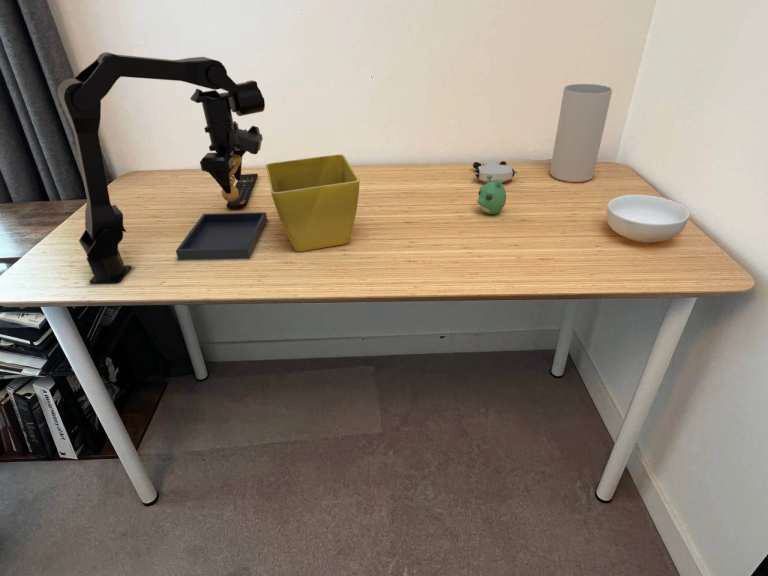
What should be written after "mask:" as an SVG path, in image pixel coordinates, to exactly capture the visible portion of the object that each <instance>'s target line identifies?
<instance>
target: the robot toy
mask: <svg viewBox="0 0 768 576" xmlns="http://www.w3.org/2000/svg"><path fill="white" fill-rule="evenodd" d="M470 166H471V167H472V168H473V169H475V171H474V172H473V175H474V176H475V177H476V178H477V179H479V181H482V182H483V183H485V184H486V183H488V182H489V179H487V178H486V177H487V176H488V175H492V178H491V182H492V181H494V182H497V180H498V179H501V180H502V181H503V183H505V182H508V181H510V180H512V179H513V178H514V177H515V174H519V171H515V170H514V169H513V167H511V166H510V165H508V163H507V161H506V160H505V161H504V160H503V161H502V160H501V161H498V160H497V159H494V158H493V159H492V158H490V159H488V158H487V159H484V160H483V161H482V163H481V162H478V161H475V162H471V163H470Z"/></svg>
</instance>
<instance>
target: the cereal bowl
mask: <svg viewBox="0 0 768 576" xmlns="http://www.w3.org/2000/svg"><path fill="white" fill-rule="evenodd" d="M689 219H690V212H689V210H688V209H687V208H686V207H685V206H683V205H682V204H681V203H679V202H676V201H674V200H670V199H668V198H664V197H661V196H655V195H650V194H649V195H648V194H625V195H624V194H623V195H620V196H617V197H613V198H612V199H611V200H610V201H609V202H608V204H607V208H606V221H607V224H608V226H609V228H611V229H612V230H613V231H614V232H616V234H617V235H620V236H622V237H624V238H626V239H627V240H629V241H632V242H635V243H640V244H652V243H659V242H665V241H668V240H671V239H673V238H675V237H676V236H678V235H680V233H682V232H683V231H684V229H685V227H686V225H687V224H688V223H689V222H688V220H689Z"/></svg>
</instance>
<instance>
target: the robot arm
mask: <svg viewBox="0 0 768 576" xmlns="http://www.w3.org/2000/svg"><path fill="white" fill-rule="evenodd" d="M120 78H134V79H147V80H148V79H149V80H162V81H174V82H176V81H177V82H184V83H188V84H191V85H194V86H198V87H202V88H206V89H210V90H207V91H206V90H205V91H202V89H199V88H196V89H195V91H194V93H193V94H192V95H191V97H190V101H192V102H194V103H197V104H200V103H201V106H202V110H203V113H204V119H205V123H206V126H205V127H204V128H203V129H204V132H205V133H207V134H208V135H209V140H210V144H209V146H208V150H209V152H207V153H206V154H205V155H204V156H203V157H202V159H201V160H200V161H199V165H200V168H201V171H203V172H206V173H208V174H209V175H210V176H211V177H212V178H213V179H214V180H215V181H216V183H217V184H218V185H219V186H220V187H221V190H222V189H223V190H224V191H225V192H226V193H227V194H231V179H232V178H231V177H230V172H231V170H232V169H233V168H234V166H235V165H233V157H232V156H231V154H232V153H233V154H235V155H239V156H241V159H242V160H241V163H240V165H239V167H238V169H237V171H236V173H234V175H233V176H234V177H235V181H238V180H241V175H242V169H243V168H242V166H243V156H244V155H245V154H246V153H247V152H248V153H249V154H252V155H257V154H258V153H259V151H261V147H262V142H263V140H264V138H263V134H261V131H260V128H259V126H256V125H251V126H250V127H249V129H248V130H247V129H246V128H245V129H241V128H239V124H238V123H237V121H234V118H233V115H232V113H235V114H236V115H237V116H238V117H243V116H247V115H253V114H259V113H262V112H264V111H265V108H266V102H265V97H263V94H262V91H261V90H260V88H259V87H258V82H257V81H256V80H253V79H251V80H246V81H245V82H240V83H236V82H235V81H234V80H233V79H232V78H231V77H230V76H229V75H228V71H227V69H226V66H224V64H223V63H222V62H221V61H220V60H216V59H213V58H209V57H206V56H197V57H186V58H180V59H166V58H157V57H146V56H135V55H127V54H115V53H112V52H108V51H105V52H101V53H100V54H99V55H98V57H97V58H96V59H95V60H94V61H93V62H92V63H90V64H89V65H88V66H87V67H85V68H84V69H82V70H81V71H80V72H79V73H78V74H76V76H75V77H73V78H67V79H65V80H62V82H61V83H60V84H59V85H58V87H57V96H58V99H59V102H60V104H61V106H62V110H63V112H64V114H65V116H66V118H67V121H68V123H69V125H70V127H71V129H72V131H73V136H74V141H75V146H76V151H77V156H78V161H79V166H80V171H81V176H82V181H83V182H82V183H83V186H84V192H85V195H86V205H85V211H84V214H85V215H84V227H85V230H84V232H82V235H81V236H80V238H79V239H78V242H79V244H80V246H81V248H82V249H83V251H84V252H85V254H86V261H87V264H88V265H89V267H90V270H91V273H92V274H93V276H92V278H91V279H89V283H90V284H119V283H121V281H122V280H123V279H124V278H125V277H126V275H127V274H128V273H129V272H130V271H131V269H132V265H125V263H124V261H123V258H122V255H121V253H120V250H119V244H120V243H121V241H123V239H124V233H126V232H127V230H126V228H125V227H124V213H123V212H122V211H121V210H120V208H119V207H118V206H117V205H116V204H113V205H112V203H111V199H110V193H109V188H108V181H107V176H106V171H105V170H106V169H105V164H104V159H103V154H102V148H101V147H102V146H101V142H100V137H99V131H100V125H101V118H102V116H101V114H102V113H101V111H102V100H104V98H105V97H106V96H107V95H108V94H109V92H110V91H111V89H112V88H113V87H114V85H115V84H116V82H117V81H118V80H119V79H120ZM217 90H222V91H225V92H218V91H217Z"/></svg>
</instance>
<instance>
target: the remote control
mask: <svg viewBox="0 0 768 576" xmlns="http://www.w3.org/2000/svg"><path fill="white" fill-rule="evenodd" d="M258 177H259V174H258V173H247V174H241V180H237V182H236V184H235V185H234V186H235V187H236V188H237V189H238V192H239V196H238V198H237V199H236V200H235V201H232V202H230V201H227V202H226V205H225V206H226V208H227V209H229V210H231V211H239V210H240V211H241V210H243V209H244V208H246V207H247V206H248V203H249V200H250V198H251V196H252V195H251V194H252V193H253V189H254V188H255V185H256V183H257V179H258Z"/></svg>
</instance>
